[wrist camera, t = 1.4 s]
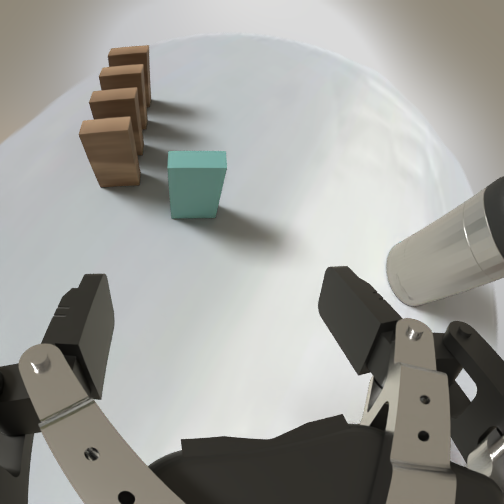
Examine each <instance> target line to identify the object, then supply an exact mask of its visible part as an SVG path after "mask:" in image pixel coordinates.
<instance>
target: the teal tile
mask: <svg viewBox="0 0 504 504" xmlns="http://www.w3.org/2000/svg"><path fill="white" fill-rule="evenodd" d="M226 170H227V161H226V151H169V152H168V183H169V196H170V208H171V218H172V219H176V218H216V213H217V209H218V204H219V200H220V196H221V191H222V187H223V183H224V178H225V174H226Z"/></svg>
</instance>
